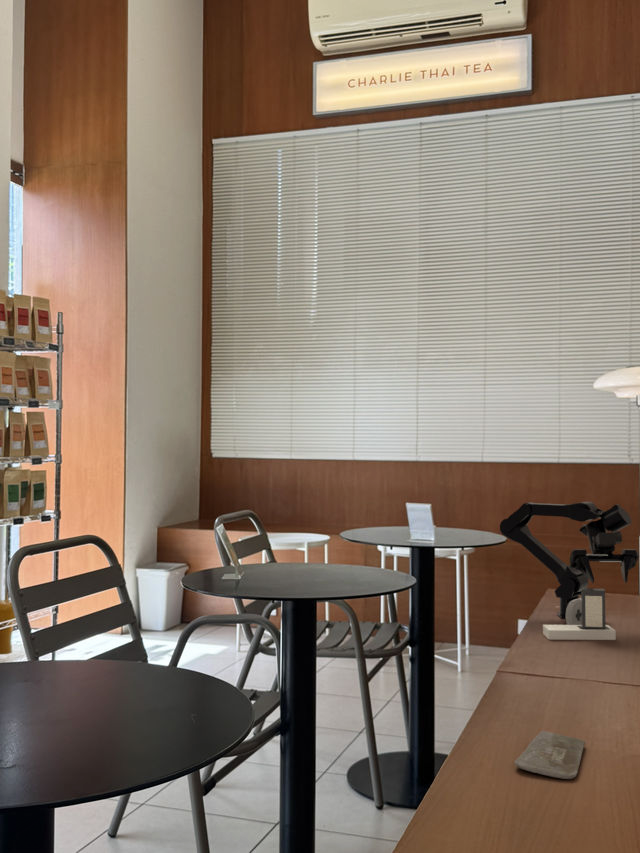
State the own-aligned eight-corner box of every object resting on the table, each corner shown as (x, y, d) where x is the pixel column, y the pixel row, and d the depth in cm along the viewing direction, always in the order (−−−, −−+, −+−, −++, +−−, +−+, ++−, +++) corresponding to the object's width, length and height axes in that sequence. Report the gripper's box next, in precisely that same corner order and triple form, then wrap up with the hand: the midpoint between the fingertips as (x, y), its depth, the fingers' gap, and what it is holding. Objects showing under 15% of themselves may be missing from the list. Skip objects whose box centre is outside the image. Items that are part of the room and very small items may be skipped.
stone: (574, 778, 136) (511, 761, 140) (572, 795, 136) (510, 778, 141) (591, 734, 152) (535, 720, 157) (590, 750, 153) (533, 735, 157)
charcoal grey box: (581, 631, 238) (581, 588, 238) (604, 632, 237) (603, 588, 237) (582, 634, 235) (582, 590, 235) (605, 634, 234) (605, 590, 234)
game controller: (572, 631, 243) (572, 602, 243) (565, 630, 245) (565, 601, 245) (602, 620, 257) (602, 593, 257) (595, 619, 259) (595, 592, 259)
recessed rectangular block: (543, 633, 240) (543, 624, 240) (608, 634, 239) (608, 625, 239) (548, 639, 233) (548, 630, 233) (615, 639, 232) (615, 630, 232)
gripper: (571, 521, 250) (581, 565, 239) (636, 521, 250) (649, 565, 238) (565, 545, 258) (574, 588, 247) (628, 545, 257) (640, 588, 246)
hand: (609, 582), depth 244 cm, fingers open, 9 cm apart
